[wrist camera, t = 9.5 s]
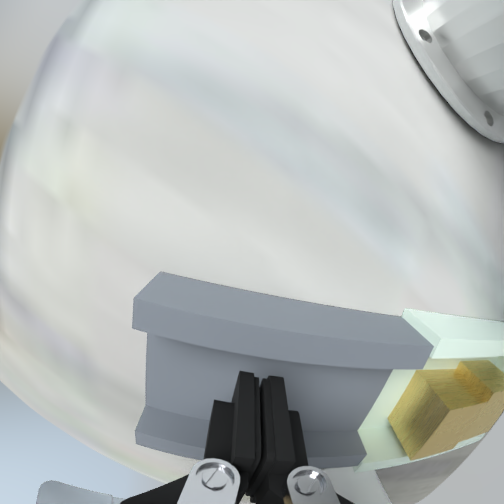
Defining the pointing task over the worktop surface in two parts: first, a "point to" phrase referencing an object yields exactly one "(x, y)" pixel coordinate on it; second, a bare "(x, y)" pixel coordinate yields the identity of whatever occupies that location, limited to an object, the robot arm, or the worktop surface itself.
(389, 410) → the tray
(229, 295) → the slot board
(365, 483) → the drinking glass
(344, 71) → the worktop surface
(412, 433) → the gold cube
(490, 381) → the tan cube
